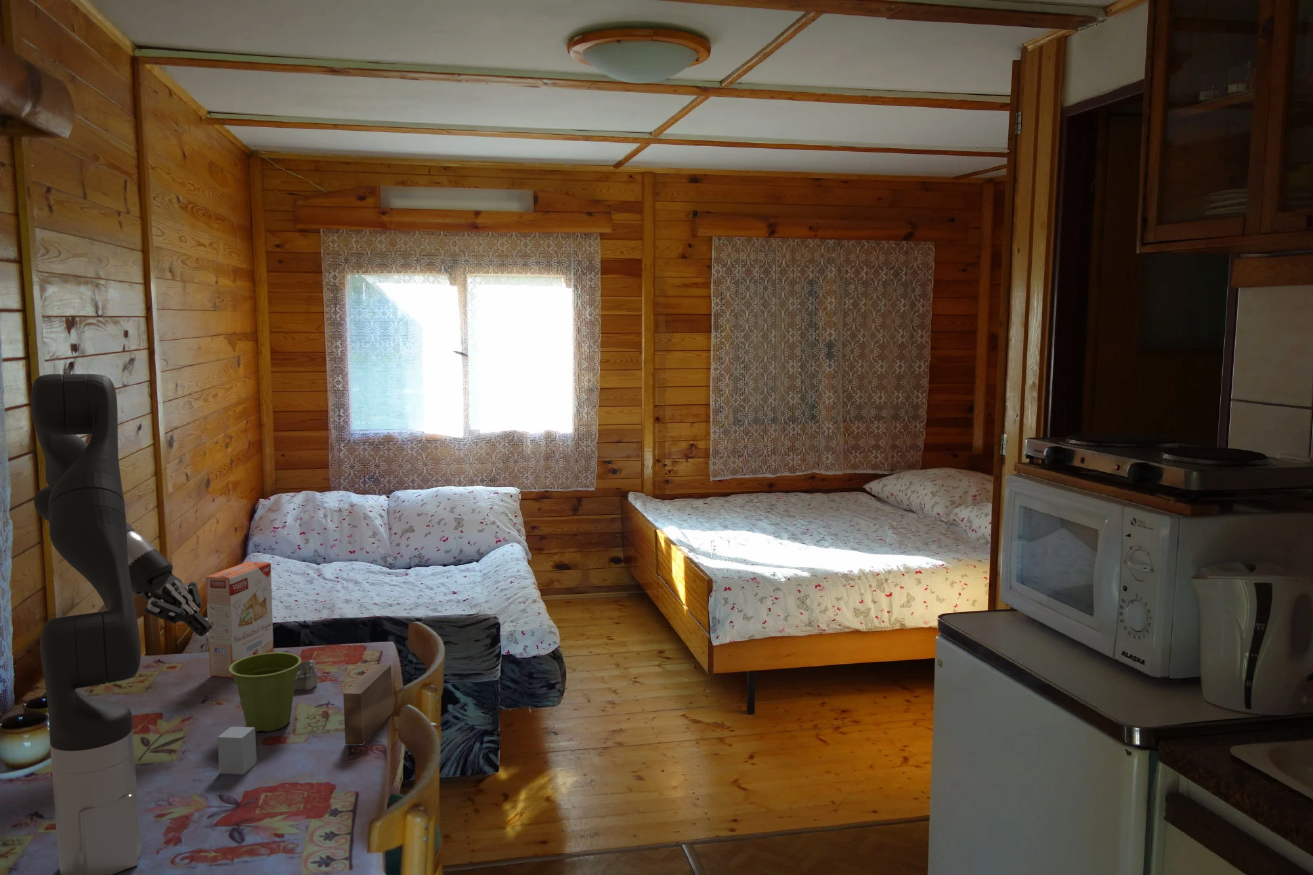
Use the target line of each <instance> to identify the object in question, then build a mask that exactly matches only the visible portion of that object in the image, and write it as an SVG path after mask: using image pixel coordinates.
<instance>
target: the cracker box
mask: <svg viewBox="0 0 1313 875" xmlns="http://www.w3.org/2000/svg"><path fill="white" fill-rule="evenodd" d="M205 585H206V587H205V588H206V591H205V592H206V610H207V611H206V613H207V615H206V616H207V621H208V622H209V623H210V624H211V625H212V629H211V630H210V631H209V632H208V633H207V636H208V659H209V660H208V661H209V676H210V677H219V678H230V679H234V677H233V674H231V673H230V672H229V667H230V665H231V664H233V663H234V662H236V661H238V660H240V659H242V658H245V657H249V656H252V655H257V654H263V653H273V652H274V631H273V630H274V628H273V625H274V623H273V595H272V590H273V588H272V563H271V562H267V561H252V560H251V561H250V560H249V561H245V562H243V563H240V564H237V565H235V566H232V567H228V568H227V569H223V570H221V571H218V572H216V573H213V574H210V575H207V576H206V577H205Z"/></svg>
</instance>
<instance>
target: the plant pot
mask: <svg viewBox="0 0 1313 875" xmlns="http://www.w3.org/2000/svg"><path fill="white" fill-rule="evenodd" d="M300 663H302V658H301V657H300V656H299V655H298V654H295V653H292V652H291V653H290V652H284V651H283V652H280V651H279V652H277V651H275V652H273V653H263V654H257V655H252V656H249V657H245V658H242V659H240V660H238V661H236V662H234V663H233V664H231V665H230V667H229V672H230V673H231V674H233V677H234V678H233V679H234V684H235V686H236V687H237V692H238V696H239V700H240V704H241V709H242V713H243V717H244V721H245V725H246V726H245V727H255V733H257V732H260V731H264V732H272V731H276V730H278V729H279V730H280V729H282V728H284V727H286V726H287V725H288V724H289V722H290V721H291V717H292V710H293V709H292V708H293V701H294V693H295V691H294V686H295V678H296V676H297V671H298V666H299V665H300Z"/></svg>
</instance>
